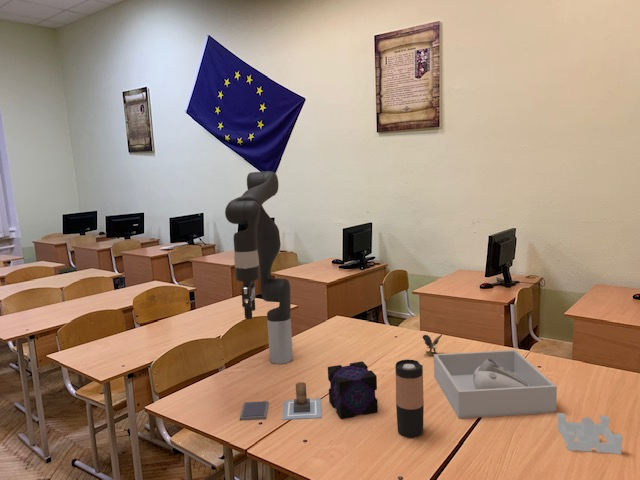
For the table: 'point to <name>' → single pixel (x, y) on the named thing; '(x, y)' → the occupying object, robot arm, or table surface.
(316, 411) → the mat
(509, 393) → the grey open tray
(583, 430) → the castle model
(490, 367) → the grey curved piece
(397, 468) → the table surface
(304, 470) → the table surface
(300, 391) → the stamp
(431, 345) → the eagle figurine
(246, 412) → the pad
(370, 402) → the energy cube
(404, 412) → the travel mug
